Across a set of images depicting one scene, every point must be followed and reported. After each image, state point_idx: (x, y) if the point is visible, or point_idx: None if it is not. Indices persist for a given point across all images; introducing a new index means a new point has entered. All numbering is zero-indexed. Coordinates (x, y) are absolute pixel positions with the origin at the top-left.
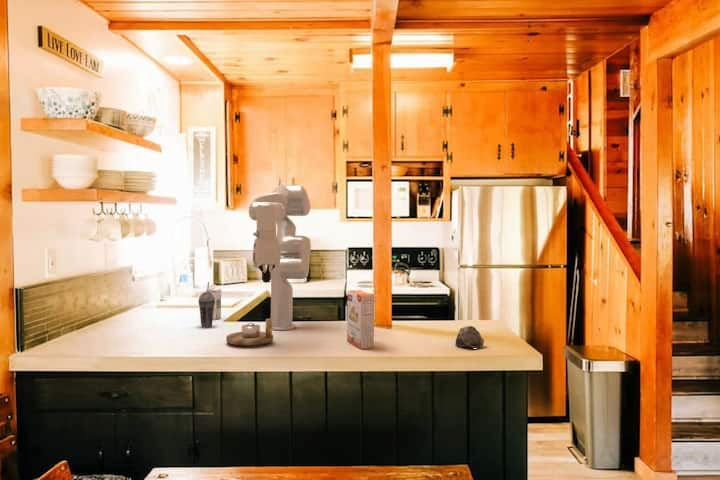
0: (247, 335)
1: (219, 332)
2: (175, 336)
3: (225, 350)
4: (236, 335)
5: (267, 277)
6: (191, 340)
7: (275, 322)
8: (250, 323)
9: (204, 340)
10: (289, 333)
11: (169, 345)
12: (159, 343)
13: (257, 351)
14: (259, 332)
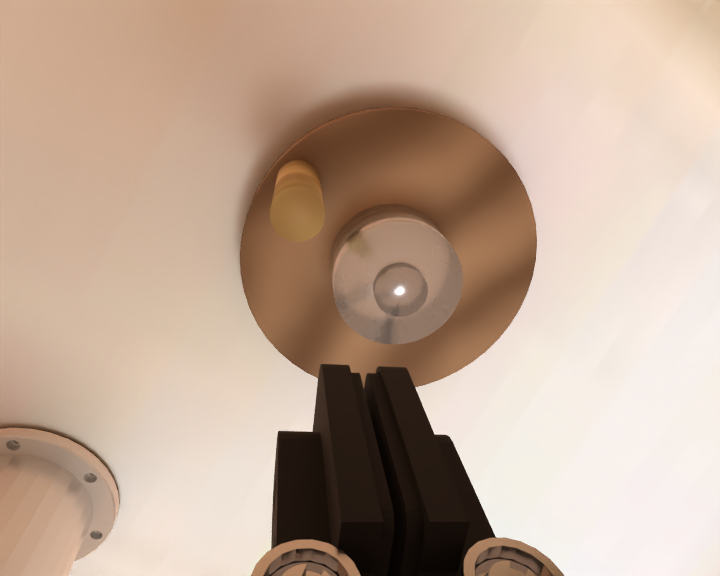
0: (438, 229)
1: None
2: (585, 543)
3: (590, 166)
4: (448, 321)
5: (389, 431)
6: (580, 449)
7: (69, 503)
8: (392, 313)
9: (536, 423)
10: (43, 353)
11: (710, 409)
12: (713, 460)
13: (465, 21)
14: (351, 228)
